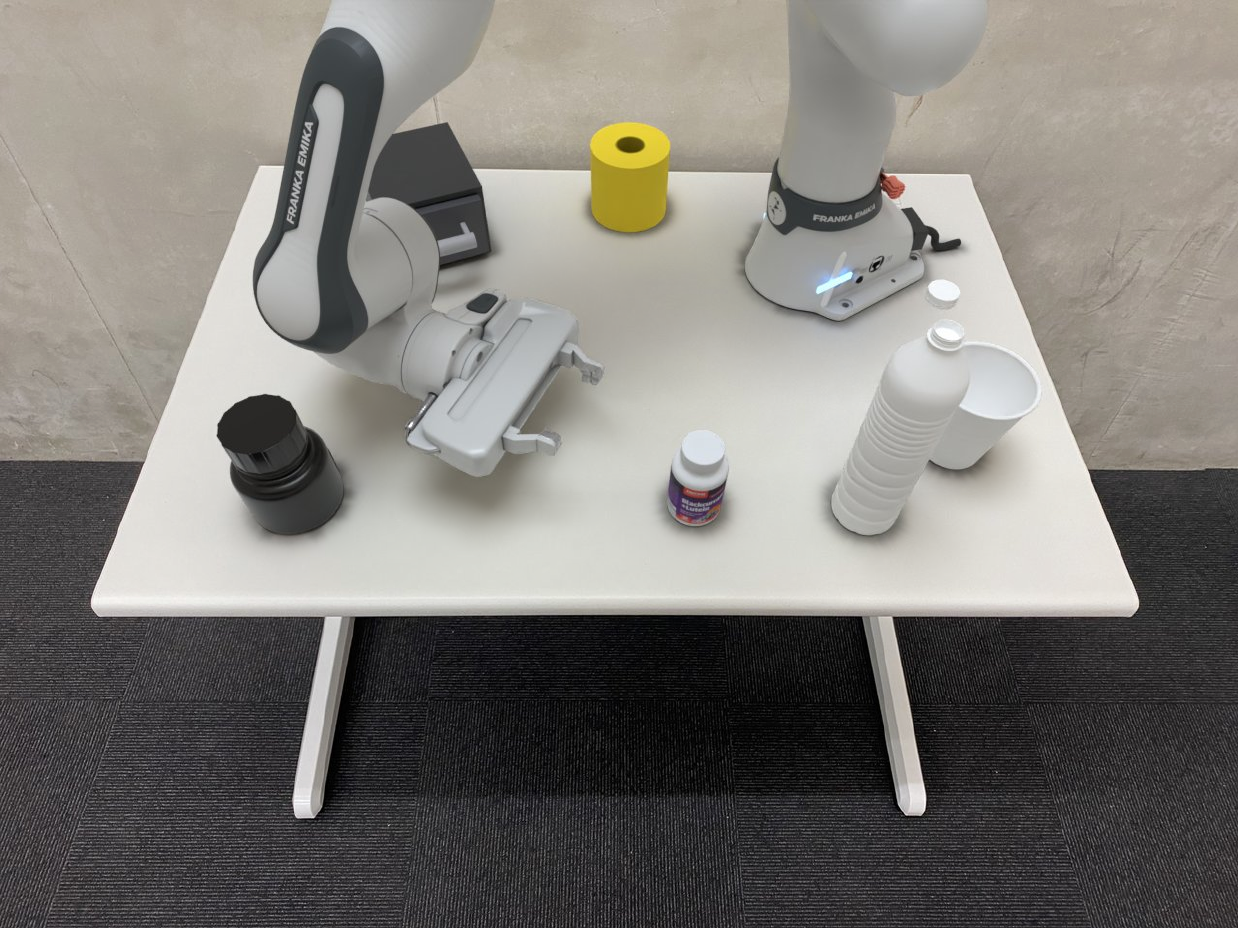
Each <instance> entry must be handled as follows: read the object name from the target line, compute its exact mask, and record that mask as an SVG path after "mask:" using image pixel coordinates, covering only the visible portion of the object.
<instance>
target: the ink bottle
mask: <svg viewBox="0 0 1238 928" xmlns="http://www.w3.org/2000/svg"><path fill="white" fill-rule="evenodd" d="M216 425H217V430H216V438H217V440H218V441H219V443H220V444H221V447H222V448H223V450H224V451H225V453H226V455H227V456H228V457H229V460H230V463H229V477H230V481H231V484H232V486H233V488H234V489H235V491H236V493H237V494H238V495H239V498H241V500H242V501H243V503H244V504H245V506H246V507H247V509H248V510H249V512H250V513H251V515H252V516H253V518H254V519H255V520H256V522H257V523H258V524H259V525H260V526H261V527H262V528H264V529H266V530H268V531H270V532H272V533H276V534H283V535H284V534H285V535H287V534H288V535H291V534H299V533H304V532H307V531H310V530H313V529H315V528H317V527H319V526H321V525H323V524H324V523H326V522H327V521H328V520H330V518H332V516H333V515H334V514H335V513H336V511H337V510H338V508H339V506H340V504H341V502H342V499H343V496H344V495H343V494H344V483H343V479H342V476H341V474H340V470H339V467H338V465H337V464H336V461H335V459H334V457H333V455H332V452H331V450H330V449H329V448H328V446H327V445H326V443H325V441H324V439H323V437H321V435H320V434H319V433H317V432H316V431H315V430H314V429H312V428H310V427H308V426H305V425H304V424H303V422H302V419H301V418H300V416H299V413H298V412H297V410H296V409H295V408H294V406H293V404H292V402H291V401H290V400H287V399H286V398H284V397H282V396H281V395H275V394H269V393H263V394H256V395H250V396H247V397H246V398H244V399H242V400H240V401H236V402H235V403H234V404H233V405H231V406H230V407H229V408H228V409H227V410H225V411H224V412H223V413H222V415H221V417H220V419H219V421H218V422H217V424H216Z"/></svg>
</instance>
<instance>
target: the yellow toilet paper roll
mask: <svg viewBox="0 0 1238 928" xmlns="http://www.w3.org/2000/svg"><path fill="white" fill-rule="evenodd" d="M589 143H590V144H589V148H590V152H589V153H590V155H589V156H590V200H591V204H590V206H591V207H590V208H591V209H590V210H591V214H592V216H593V218H594V219H595V220H596V222H598V224H600V225H601V226H603V227H604V228H607V229H609V230H612V231H615V232H620V233H639V232H645V231H647V230H649V229H652V228H654V227H655V226H657V225H658V224H659V223H661V222H662V221H663V219H664V218H665V216H666V211H667V201H668V200H667V197H668V195H667V194H668V184H669V171H670V170H669V169H670V157H671V156H670V155H671V142H670V139H669V138H668V136H667V135H666V134H665V133H664V132H663V131H662V130H660V129H658V128H657V127H655V126H652V125H649V124H646V123H640V122H627V121H626V122H617V123H613V124H609V125H607V126H605V127H602V128H600V129H598V131H596V132H595V134H593V136H592V138H591V139H590V142H589Z"/></svg>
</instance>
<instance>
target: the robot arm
mask: <svg viewBox="0 0 1238 928" xmlns="http://www.w3.org/2000/svg"><path fill="white" fill-rule="evenodd" d="M785 3H786V4H785V5H786V15H787V17H786V18H787V39H788V40H787V41H788V74H789V75H788V76H789V78H788V80H789V81H788V82H789V83H788V85H789V86H788V100H787V101H788V102H787V110H786V117H785V123H784V127H783V133H782V139H781V145H780V151H779V154H778V155H779V156H778V157H777V158H776V160H775V161H774V164H773V168H772V172H771V176H770V180H769V184H768V191H767V200H766V211H765V212H764V213H763V220H762V222H761V225H760V228H759V230H758V232H757V235H756V238H755V239H754V242H753V244H752V246H751V248H750V249H749V251H748V252H747V255H746V257H745V261H744V271H745V275H746V278H747V280H748V281H749V283H750V285H751V286H752V287H753V288H754V290H756V291H757V292H758V293H759V294H760V295H761V296H763V297H764V298H766V299H767V300H769V301H771V302H773V303H774V304H777V305H780V306H783V307H785V308H789V309H794V310H798V311H805V312H810V313H811V312H812V313H815V314H818V315H820V316H822V317H825V318H828V319H829V320H833V321H836V322H837V321H839V322H840V321H844V320H846V319H848V318H850V317H852V316H854V315H856V314H857V313H859V312H861V311H862V310H865V309H866V308H869V307H870V306H872V305H874V304H876V303H878V302H880V301H882V300H884V299H885V298H887V297H889V296H892V295H893V294H895V293H897V292H899V291H901V290H903V289H904V288H906V287H908V286H910V285H912V284H914V283H915V282H918V281H919V280H920V279H922V278H923V277H924V273H925V263H924V260H923V258H922V256H921V253H920V252H919V251H922V250H923V248H924V246H925V243H926V241H927V238H928V236H929V237H930V246H931V248H932V249H933V250H936V251H939V252H940V251H947V250H950V249H954V248H957V247H960V246H961V245H962V240H961V238H959V237H958V238H954V239H951V240H948V241H944V242H940V233H939V231H938V230H937V229H936V228H935V227H933V226H931V225H927V224H925V223H924V221H923V220H922V219H921V218H920V216H919V215H918V213H917V212H916V211H915V209H914V208H913V207H912V206H911V207H904V208H900V206H898V205H897V204H896V203H895V202H894V201H893V200H897V199H899V198H901V196H902V195H903V194H904V193H905V191H906V185H905V183H904V182H902V181H901V180H899V179H898V177H897V176H896V175H893V174H892V175H889V176H888V175H887V174H886V173H885V169H884V168H883V163H884V160H885V158H886V153H887V150H888V147H889V144H890V140H891V138H892V135H893V132H894V128H895V125H896V120H897V102H896V96H895V94H897V95H900V96H904V97H920V96H925V95H927V94H930V93H932V92H934V91H936V90H938V89H940V88H941V87H944V86H945V85H947V84H948V83H949V82H951V81H952V80H953V79H955V77H957V76H958V75H959V74H960V73H961V72H963V70H964V69H965V68H966V66H967V65H968V64H969V63H970V61H971V60H972V59H973V57H974V56H975V54H976V52H977V51H978V49H979V47H980V44H981V42H982V40H983V37H984V35H985V32H986V28H987V24H988V19H989V9H988V3H987V0H785ZM495 4H496V0H331V1H330V4H329V8H328V11H327V14H326V17H325V20H324V22H323V24H322V27H321V30H320V32H319V34H318V38H317V39H316V40H315V42H314V44H313V47H312V49H311V52H310V54H309V57H308V59H307V61H306V64H305V66H304V70H303V73H302V76H301V80H300V83H299V88H298V92H297V96H296V101H295V106H294V111H293V116H292V121H291V127H290V131H289V137H288V143H287V148H286V154H285V158H284V164H283V169H282V175H281V179H280V180H281V182H280V185H279V190H278V191H279V192H278V197H277V203H276V207H275V211H274V212H275V213H274V217H273V221H272V225H271V227H270V231H269V232H268V235H267V237H266V238H265V240H264V242H263V244H262V245H261V246H260V248H259V250H258V252H257V253H256V255H255V258H254V263H253V270H252V291H253V297H254V301H255V305H256V308H257V310H258V312H259V315H260V316H261V318H262V320H263V321H264V323H265V324H266V325H267V327H268V328H269V329H270V330H271V331H272V332H273V333H274V334H275V335H276V336H278V337H279V338H281V339H282V340H283V341H286V342H287V343H289V344H291V345H293V346H295V347H297V348H299V349H303V350H305V351H309V352H313V353H314V354H316V356H318V357H319V358H321V359H322V360H324V361H325V362H326V363H329V364H330V365H332V366H334V367H336V368H338V369H340V370H342V371H343V372H346V373H349V374H351V375H353V376H356V377H358V378H361V379H363V380H366V381H368V382H371V383H374V384H377V385H378V384H379V385H390V386H393V387H395V388H397V389H398V390H400V391H401V392H402V393H404V394H405V395H407V396H408V397H409V396H410V397H412V398H414V399H417V400H420V401H422V402H421V404H419V406H418V408H417V410H416V412H415V413H414V414H413V415H412V416H411V417H410V418H409V419H407V421H406V423H405V425H404V431H405V432H404V440H405V443H406V445H408V447H410V448H411V449H413V450H415V451H417V452H419V453H421V454H425V455H434V456H435V457H436V458H438V459H440V460H442V461H443V462H444V463H446V464H448V465H449V466H451V467H453V468H455V469H457V470H458V471H461V472H463V473H465V474H468V475H469V476H472V477H475V478H480V477H487V476H490V475H492V473H493V471H494V470H495V468H496V467H497V465H498V464H499V462H500V461H501V459H502V458H503V456H504V455H505V453H506V452H509V453H511V454H514V455H522V454H531V453H538V452H539V453H542V454H544V455H548V456H550V457H554V456H556V454H557V452H558V450H559V448H560V447H561V445H562V436H561V434H559V432H556V431H551V430H550V429H548V428H545V427H543V428H542V430H541V431H540V433H522V434H521V429H522V428H523V427H524V425H525V423H526V422H527V420H528V419H529V417H530V415H531V414H532V412H533V411H534V410H535V408H536V406H537V405H538V404H539V402H540V400H541V399H542V398H543V396H544V395H545V393H546V392H547V390H548V389H549V387H550V385H551V384H552V382H553V381H554V380H555V378H556V376H557V375H558V374H559V371H560V370H561V369H562V367H565V368H567V369H573V367H575V368H577V370H579V372H580V373H581V382H583V383H586V384H591V385H592V386H598V385H599V383H600V382H601V380H602V379H603V377H605V366H604V364H603V363H601V362H598V361H595V360H592V359H590V358H589V357H588V356H587V355H586V354H585V353H584V351H583V350H582V349H581V348H580V347H579V346H578V342H579V341H580V337H579V336H580V331H579V329H580V327H579V320H578V319H577V317H576V316H575V314H574V313H573V312H572V311H571V310H568V309H567V308H564V307H561V306H558V305H556V304H552V303H549V302H545V301H543V300H538V299H534V298H531V297H530V298H529V297H522V296H520V297H519V296H518V297H513V298H511V299H507V296H506V293H505V291H503V290H501V289H499V288H496V287H490V288H487V289H485V290H483V291H482V292H480V293H479V294H477V295H476V296H474V297H473V298H471V299H469V300H468V301H467V302H464V303H463V304H461V305H459V306H457V307H455V308H452V309H450V310H449V311H447V312H446V313H444V312H441V311H439V310H436V309H435V308H433V305H432V304H433V302H434V301H435V298H436V293H437V289H438V284H439V278H440V277H439V276H440V268H441V267H440V266H441V265H440V250H439V245H438V241H437V238H436V235H435V233H434V231H433V229H432V228H431V226H430V224H429V223H428V222H427V220H426V219H425V218H424V217H423V216H422V215H421V214H420V213H419V212H418V211H417V210H416V209H414V208H413V207H412V206H410V205H409V204H407V203H405V202H403V201H401V200H399V199H396V198H392V197H378V198H375V199H373V200H370V201H368V202H366V197H367V193H368V189H369V185H370V181H371V176H372V172H373V169H374V166H375V163H376V161H377V158H378V156H379V154H380V152H381V151H382V149H383V147H384V145H385V144H386V142H387V141H388V139H389V138H390V137H391V136H392V134H395V133H396V131H397V130H398V128H399V127H400V126H401V125H402V124H403V123H404V122H405V121H406V120H407V119H408V118H410V117H411V116H412V115H413V114H414V113H415V112H416V111H417V110H419V108H420V107H422V106H423V105H425V104H426V103H427V102H428V101H429V100H431V99H432V98H434V97H435V96H436V95H437V94H438V93H440V92H441V91H443V90H444V89H445V88H447V87H448V86H449V85H451V84H452V83H453V82H455V81H456V80H457V79H458V78H459V77H461V76H463V74H464V73H465V72H467V70H468V69H469V68H470V66H471V65H472V63H473V62H474V61H475V58H476V57H477V55H478V52H479V51H480V47H481V45H482V43H483V41H484V38H485V36H486V33H487V30H488V28H489V26H490V22H491V19H492V15H493V11H494V8H495ZM883 192H884V193H883Z"/></svg>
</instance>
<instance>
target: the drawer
mask: <svg viewBox="0 0 1238 928" xmlns="http://www.w3.org/2000/svg"><path fill="white" fill-rule="evenodd" d="M414 209H416V210H417V211H418V212H419V213H420V214H421V215H422V216H423V217H424V218H425V219H426V220H427V222H428V223H429V224H430V226H431V228H432V229H433V231H434V233H435V235H436V238H437V241H438V245H439V250H440V266H441V265H445V264H448V263H453V262H456V261H460V260H464V259H467V258H468V259H469V258H472V257H475V256H479V255H483V254H486V253H489V252H490V251H489V249H488V242H487V235H486V229H485V222H484V216H483V209H482V202H481V199H480V197H479V195H478V194H476V195H472V196H470V195H466V196H462V197H458V198H454V199H450V200H446V201H442V202H438V203H433V204H429V205H425V206H421V207H417V208H414Z"/></svg>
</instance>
